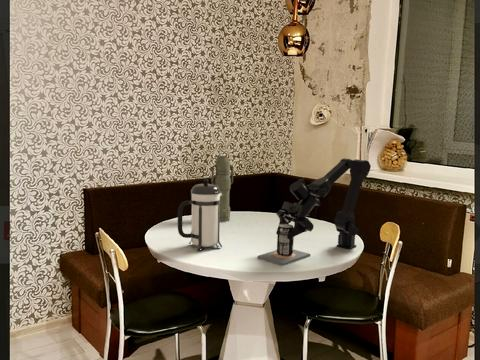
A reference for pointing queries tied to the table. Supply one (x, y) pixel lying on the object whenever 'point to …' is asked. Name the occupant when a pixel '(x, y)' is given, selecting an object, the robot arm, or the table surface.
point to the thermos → (223, 184)
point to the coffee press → (203, 215)
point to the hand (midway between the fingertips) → (282, 236)
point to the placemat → (283, 257)
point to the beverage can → (284, 240)
